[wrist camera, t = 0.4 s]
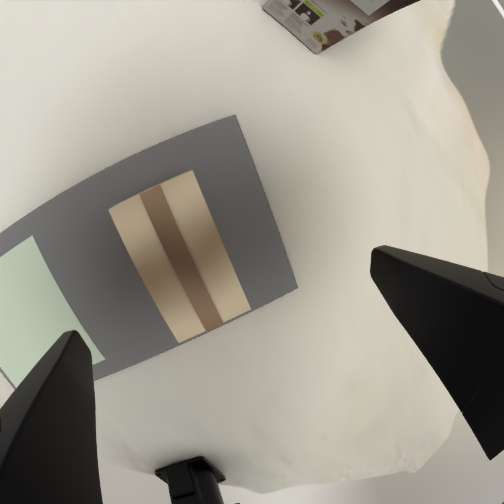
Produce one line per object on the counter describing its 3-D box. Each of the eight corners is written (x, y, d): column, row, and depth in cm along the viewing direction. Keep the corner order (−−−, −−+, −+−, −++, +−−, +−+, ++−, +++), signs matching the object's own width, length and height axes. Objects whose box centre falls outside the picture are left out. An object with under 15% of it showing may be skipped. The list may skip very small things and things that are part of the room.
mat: (294, 285, 24) (298, 288, 23) (29, 400, 19) (27, 405, 19) (233, 116, 19) (235, 114, 19) (-51, 276, 15) (-55, 279, 14)
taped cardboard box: (235, 286, 22) (252, 310, 18) (174, 315, 21) (178, 344, 17) (186, 171, 19) (192, 170, 15) (118, 202, 18) (107, 209, 14)
